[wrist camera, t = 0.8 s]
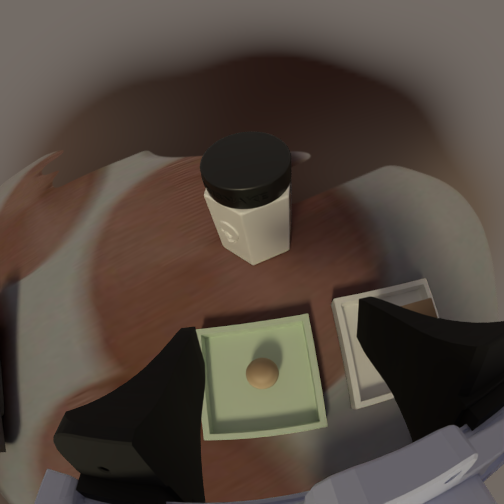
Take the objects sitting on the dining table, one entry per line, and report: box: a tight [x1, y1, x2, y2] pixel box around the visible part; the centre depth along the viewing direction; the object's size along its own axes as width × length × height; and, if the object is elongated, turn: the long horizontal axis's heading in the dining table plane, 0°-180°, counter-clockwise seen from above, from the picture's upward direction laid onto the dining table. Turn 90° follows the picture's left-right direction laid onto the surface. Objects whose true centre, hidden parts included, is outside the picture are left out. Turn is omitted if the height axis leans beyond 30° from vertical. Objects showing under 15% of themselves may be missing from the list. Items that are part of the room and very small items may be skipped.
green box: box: [196, 314, 327, 440], centre depth 24 cm, size 11×11×2 cm
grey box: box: [331, 278, 439, 409], centre depth 24 cm, size 11×11×2 cm
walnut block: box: [400, 298, 438, 318], centre depth 22 cm, size 4×4×6 cm
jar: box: [200, 132, 292, 265], centre depth 28 cm, size 9×8×12 cm
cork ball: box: [246, 358, 279, 389], centre depth 23 cm, size 3×3×3 cm
